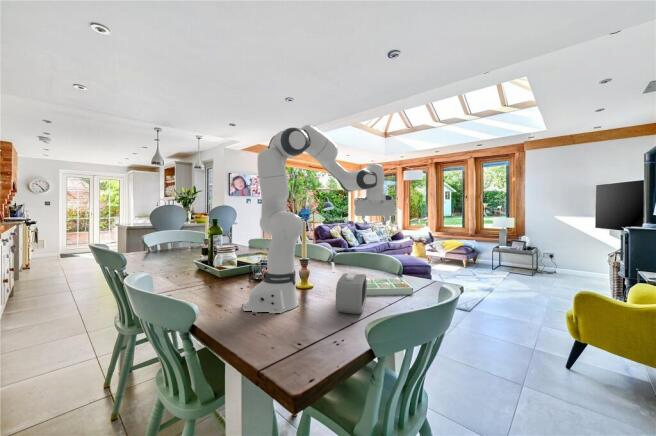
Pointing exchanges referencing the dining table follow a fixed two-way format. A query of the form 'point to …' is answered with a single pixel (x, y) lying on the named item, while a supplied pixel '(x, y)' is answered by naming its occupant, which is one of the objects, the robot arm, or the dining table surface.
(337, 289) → the alarm clock
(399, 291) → the egg tray
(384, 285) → the cream egg
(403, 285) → the brown egg
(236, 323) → the dining table surface
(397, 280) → the cream egg
